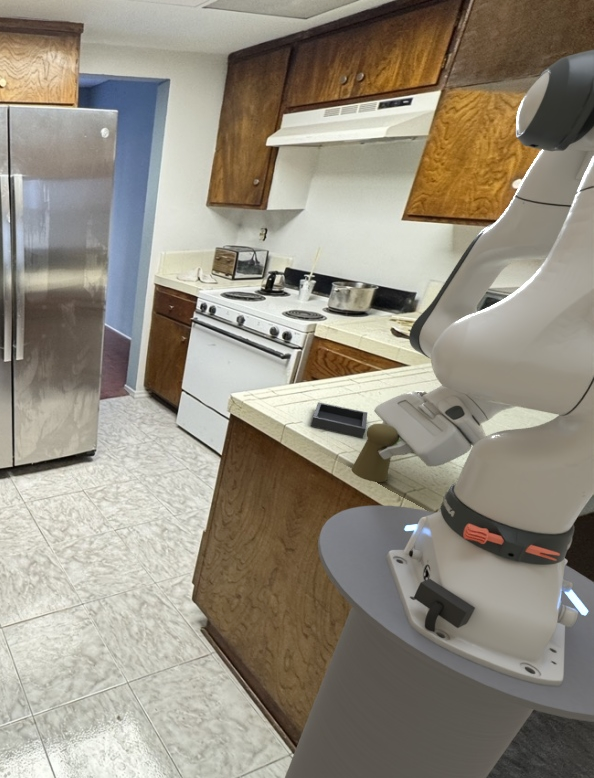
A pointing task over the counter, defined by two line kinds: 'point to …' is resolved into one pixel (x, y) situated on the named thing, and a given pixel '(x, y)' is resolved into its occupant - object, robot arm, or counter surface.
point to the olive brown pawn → (375, 453)
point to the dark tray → (340, 420)
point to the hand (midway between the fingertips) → (374, 448)
